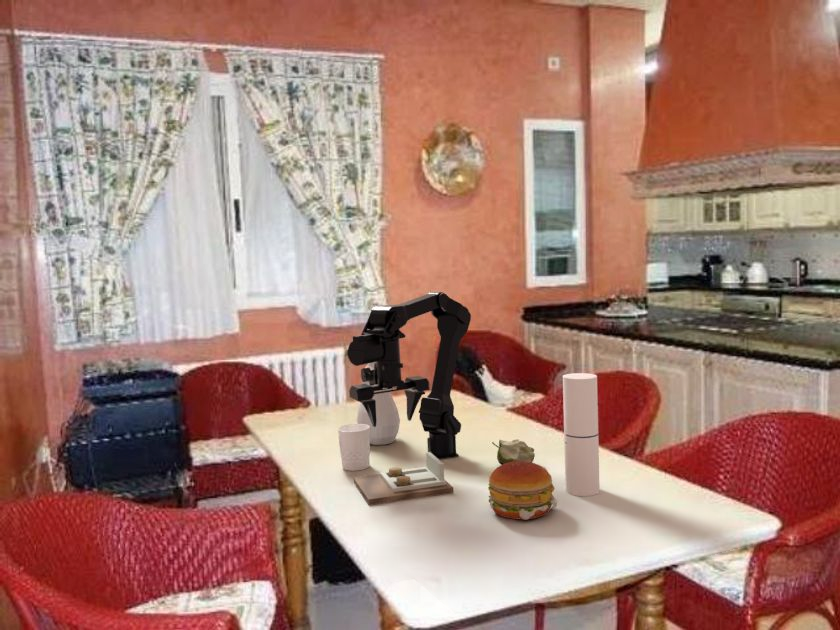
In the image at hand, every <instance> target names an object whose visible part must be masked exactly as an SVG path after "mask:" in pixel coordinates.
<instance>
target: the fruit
mask: <svg viewBox="0 0 840 630" xmlns="http://www.w3.org/2000/svg"><path fill="white" fill-rule="evenodd" d="M491 444H492V445H494V446H495V447H496V448H498V449H497V454H496V459H497V461H498V464H499V465H500V466H501V465H503V464H505V463H508V462H513V461H527V462H532V463H534V459H535V458H536V455H535V448H533V447H531V446H529V445H527V443H526V442H525V441H523V440H520V439H513V440H511V441H507V440H503V439H499V440H498V445H497V444H495V442H494V441H492V442H491Z"/></svg>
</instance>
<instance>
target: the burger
mask: <svg viewBox="0 0 840 630" xmlns="http://www.w3.org/2000/svg"><path fill="white" fill-rule="evenodd" d="M552 478H553V477H552V475H551V474H550V472H549V471H548V470H547V469H546V468H545V467H543V466H542V465H540V464H537V463H535V462H527V461H513V462H508V463H505V464H503V465H501V464H500V465H499V466H497V467H496V468H495V469H494V470H492V472H491V474H490V475H489V480H488V484H487V485H488V488H487V489H488V491H489V495H488V502H489V506H490V509H492V510H493V512H494V513H495V514H497V515H499V516H501V517H503V518H508V519H514V520H529V519H530V520H531V519H536V518H539V517H543V516H545V515H547V514H548V513H549V512H550V510H554V508H556V506H557V502H556V497H555V495H553V492H554V491H555V489H556V488H555V486H554V485H553V479H552Z"/></svg>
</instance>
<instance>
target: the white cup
mask: <svg viewBox="0 0 840 630" xmlns="http://www.w3.org/2000/svg"><path fill="white" fill-rule="evenodd" d="M337 433H338V441H339V450H340V451H339V452H340V458H341V466H342V469H343V470H345V471H351V472H352V471H353V472H355V471H362V470H366V469H367V468H369V467H370V454H371V451H370V449H371V444H370V426H368V425H365V424H358V423H352V424H351V423H349V424H345V425H341V426H339V427H338V429H337Z"/></svg>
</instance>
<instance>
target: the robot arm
mask: <svg viewBox="0 0 840 630" xmlns="http://www.w3.org/2000/svg"><path fill="white" fill-rule="evenodd" d="M429 312H431V316H432V317H434V318H435V319H436V321H437V322H436V329H437V332H438V333H439V336H440V341H439V347H438V352H437V355H436V363H435V368H434V374H433V378H432V379H433V380H432V383H431V387H430V381H429V379H428V378H426V377H425V376H419V375H415V376H414V375H413V376H408V377H405V379H404V380H403V379H402V368H404V363H402V362H401V351H400V348H401V347H400V339H404V338H406V333H403V331H401V330H400V329H401V328H403V327H404V326H406V325H407V323H408V321H410V320H411V319H414V318H416V317H419V316H422V315H424V314H427V313H429ZM471 318H472V314H471V312H470V311H469V309H468V308H467V307H466V306H464V305H463V304H462V303H460V302H459V301H456V300H455V299H453V298H451V297H449V296H448V294H446V293H444V292H441V291H430V292H428V293H426V294H424V295H421V296H418V297H416V298H413V299H410V300H407V301H404V302H402V303H399V304H398V303H397V304H387V305H376V306H374V307H372V308H371V309H370V314H369V316H368V318H367V320H366V323H365V325H364V327H363V330H362V331H361V334H360V335H353V336H352V341H351V342H350V343H349V345H348V349H347V350H346V351H347V358H348V360H349V362H350V363H351V364H352V365H353V366H355V367H358V366H362V365H363V366H364V365H367V364H368V363H373V362H376V363H374V370H370V368H365V367H362V368H361V369H360V378H361V379H362V380H361V383H362V382H368V381H369V385H370V386H369V385H367V384H363V383H362V384H361V383H360V384H355V385H351V386H350V388H349V391H348V392H349V398H350V399H353V400H355V401H356V402H359V403H360V402H361V403H362V404H363V406H364V407H365V409H366V411H367V413H368V416H369V418H370V421H371V423H372V425H373V427H376V401H375V400H374V399H372V398H373V396H374V394H379V393H386V392H390V393H392V392H397V391H398V392H399V391H403V390H404V393H405V396H406V419H407V421H409V422H411V421H412V418H413V416H414V413H415V411H416V409H417V406H418V404H419V402H420V408H419V409H418V413H419V421H420V424H421V426H422V428H423V432H427V433H428V437H427V439H426V440H427V442H426V443H427V452H431V453H432V454H433V455H434V456H435V457H436V458H438V459H439V460H441V459H442V460H443V459H449V458H456V457H457V458H458V457H459V453H457V441H456V439H457V436H456V435H458V434H459V433H461V429H462V423H461V422H460V421H459V419H457V417H455V415H454V414H455V413H454V412H455V411H454V410H455V406H454V403H453V400H452V397H451V391H452V387H453V381H454V374H455V371H456V370H455V368H456V362H457V360H458V359H457V358H458V351H459V347H460V341H461V340H462V339H463V338H464V336H465V335H466V333H467V332H468V331H469V326H470V323H471V320H472V319H471ZM374 384H375V385H378V386H373V387H372V385H374ZM383 388H387V389H383ZM430 388H431V389H430ZM429 390H430V392H429V394H428V395H427V396H426V397H424V396H423V395H425V394H426V391H429ZM422 396H423V397H422Z"/></svg>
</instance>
